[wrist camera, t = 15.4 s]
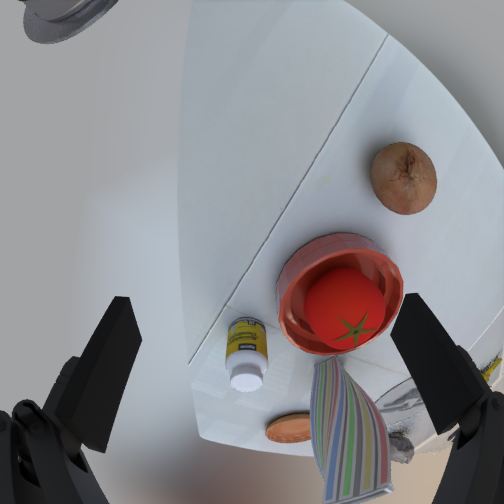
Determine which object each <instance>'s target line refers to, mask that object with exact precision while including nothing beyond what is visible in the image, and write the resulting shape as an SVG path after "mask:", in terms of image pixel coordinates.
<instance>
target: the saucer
mask: <svg viewBox="0 0 504 504" xmlns="http://www.w3.org/2000/svg"><path fill="white" fill-rule="evenodd" d="M265 434H266V437H267V438H268V439H269V440H271V441H274V442H278V443H298V442H303V441H307V440H310V439H311V433H310V414H292V415H287V416H284V417H281V418H279V419H277V420H276V421H274V422H273V423H272V424H270V425H269V426H268V427H267V429H266V433H265Z"/></svg>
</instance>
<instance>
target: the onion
mask: <svg viewBox="0 0 504 504" xmlns="http://www.w3.org/2000/svg"><path fill="white" fill-rule="evenodd" d="M370 176H371V184H372V187H373V190H374V192H375V194H376V196H377V198H378V199H379V200H380V201H381V202H382V204H383V205H384V206H385V207H386V208H388V209H389V210H391V211H393V212H395V213H397V214H402V215H410V214H415V213H418V212H420V211H422V210H424V209H425V208H426V207H427V206H428V205H429V204H430V203H431V201H432V200H433V198H434V195H435V193H436V188H437V178H436V171H435V168H434V165H433V163H432V161H431V159H430V158H429V157H428V155H427V154H426V153H425V152H424V151H423V150H421V149H420V148H419V147H417V146H415V145H412V144H410V143H405V142H398V143H393V144H390V145H388V146H386V147H384V148H383V149H382V150H381V151H380V152H379V153H378V154H377V155H376V156H375V158H374V160H373V162H372V166H371V173H370Z"/></svg>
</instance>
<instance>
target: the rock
mask: <svg viewBox="0 0 504 504" xmlns="http://www.w3.org/2000/svg"><path fill="white" fill-rule="evenodd" d="M389 442H390V453H391V460H392V461H395V462H400V463H407V464H408V463H409V462H410V461H411V460H412V457H413V455H414V447H413V445H412V443H411V441H410V440H409V439H408V438H405V437H403V435H401V434H400V433H393V434H390V435H389Z"/></svg>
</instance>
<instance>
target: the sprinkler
mask: <svg viewBox="0 0 504 504" xmlns="http://www.w3.org/2000/svg"><path fill="white" fill-rule="evenodd" d="M501 361H502V359H501V358H499V359H497V360H496V361H495V362H494V364H493V365H492V366H491V367H490V368H489V369H488V370H487V371H486V372H485V373H481V374H482V376H483V377H484V379H485V381H486V382H488V381H489V379H488V377H489V376H490V374H492V372H493V370H494V369H495V368H496V367H497V366H498V364H499V363H500V362H501ZM489 387H492V386H489Z"/></svg>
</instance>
